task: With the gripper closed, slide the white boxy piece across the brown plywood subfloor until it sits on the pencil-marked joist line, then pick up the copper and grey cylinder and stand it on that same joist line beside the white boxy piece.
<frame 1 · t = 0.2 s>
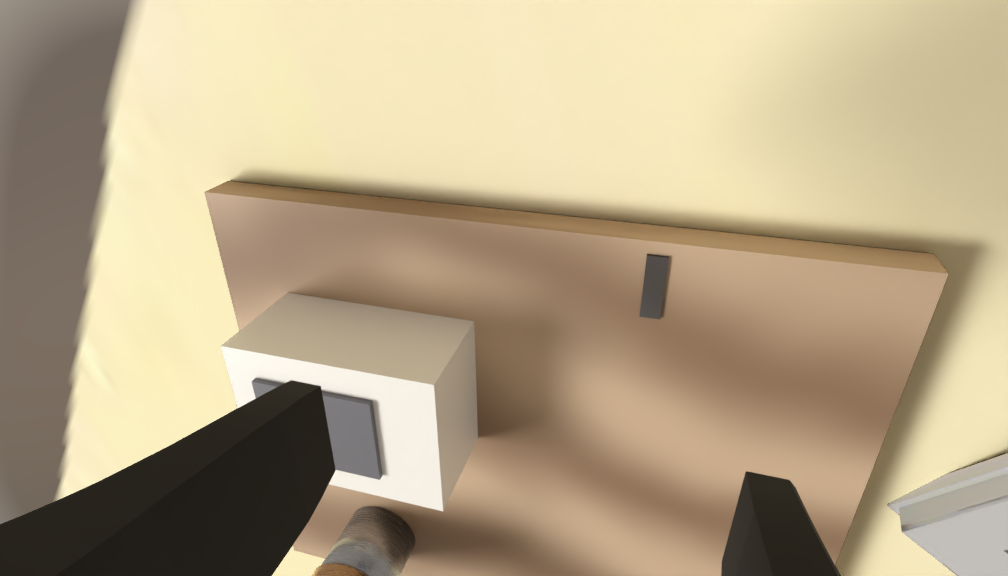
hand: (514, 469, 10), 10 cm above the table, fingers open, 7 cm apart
copper and grey cylinder: (383, 531, 26), point 1 cm above the table, touching subfloor
white boxy piece: (384, 366, 22), point 1 cm above the table, touching subfloor
subfloor: (525, 434, 23), on the table
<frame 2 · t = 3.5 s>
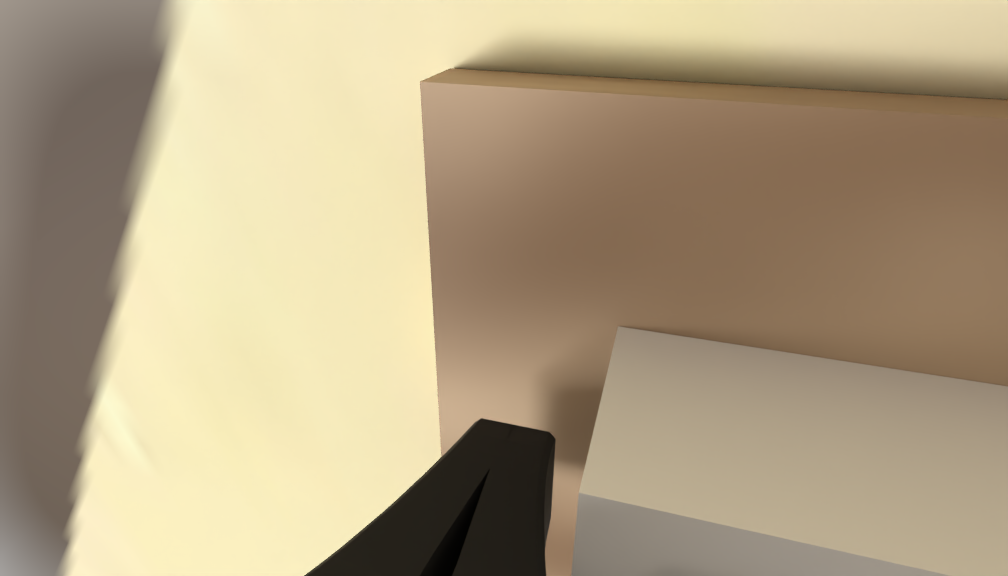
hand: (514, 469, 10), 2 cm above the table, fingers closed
white boxy piece: (820, 490, 10), point 1 cm above the table, touching gripper
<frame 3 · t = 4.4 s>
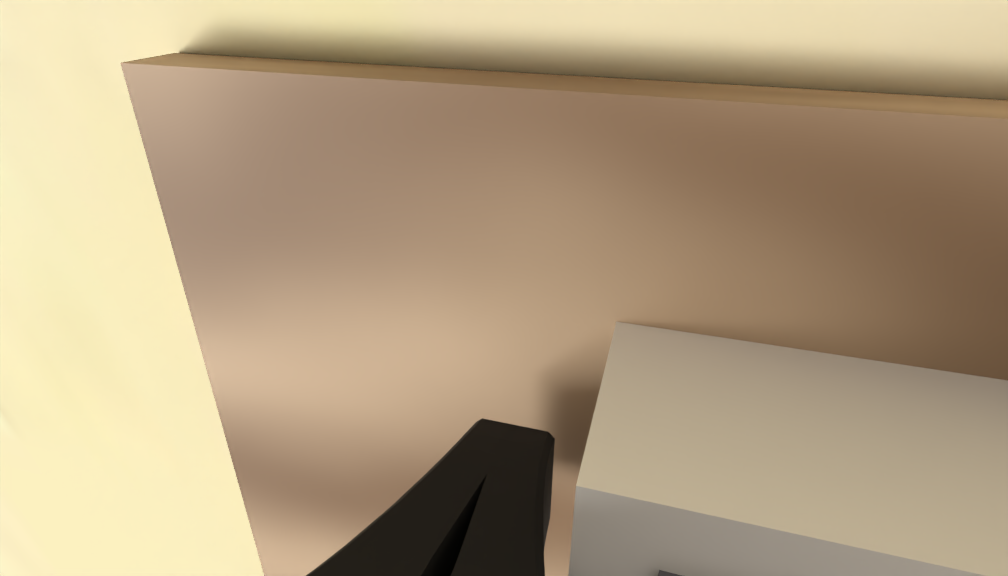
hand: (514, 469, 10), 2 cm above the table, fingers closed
white boxy piece: (819, 485, 10), point 1 cm above the table, touching gripper
subfloor: (727, 541, 13), on the table
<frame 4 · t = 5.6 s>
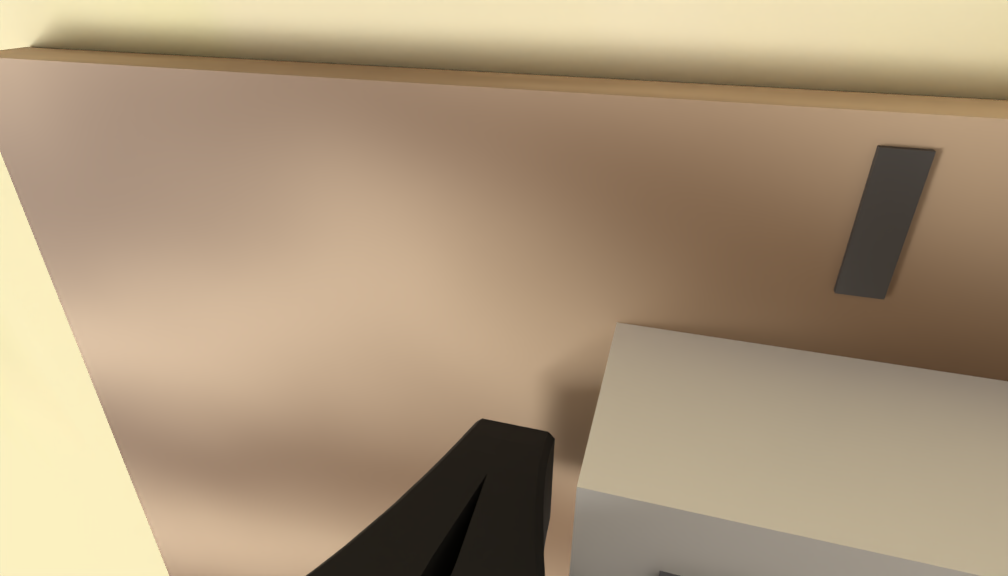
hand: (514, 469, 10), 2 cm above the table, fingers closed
white boxy piece: (819, 486, 10), point 1 cm above the table, touching gripper, subfloor
subfloor: (561, 503, 13), on the table
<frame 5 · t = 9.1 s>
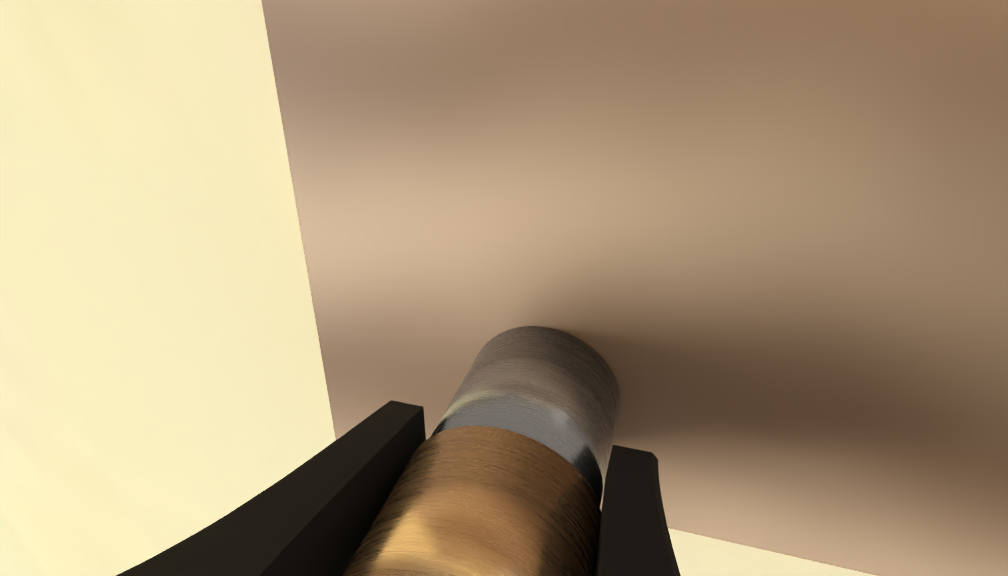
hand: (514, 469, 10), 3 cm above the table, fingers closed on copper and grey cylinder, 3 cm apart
copper and grey cylinder: (543, 391, 12), point 1 cm above the table, touching gripper, subfloor
subfloor: (983, 84, 9), on the table
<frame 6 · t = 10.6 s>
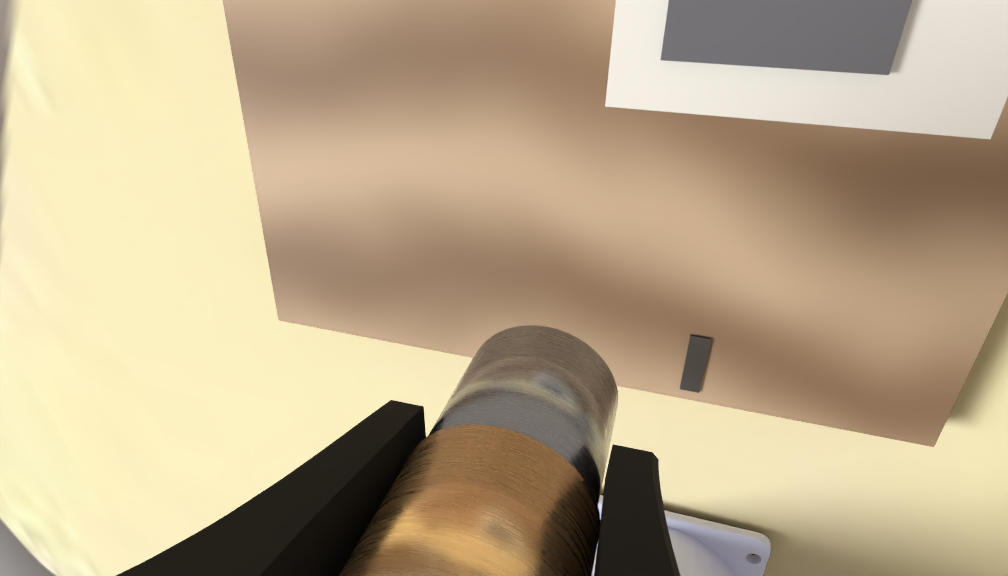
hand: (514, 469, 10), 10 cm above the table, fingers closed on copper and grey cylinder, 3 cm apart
copper and grey cylinder: (541, 390, 12), point 8 cm above the table, touching gripper
subfloor: (596, 91, 17), on the table
when the fingers open (4 cm above the table, at t = 12.3 s): copper and grey cylinder stays where it is, resting on subfloor.
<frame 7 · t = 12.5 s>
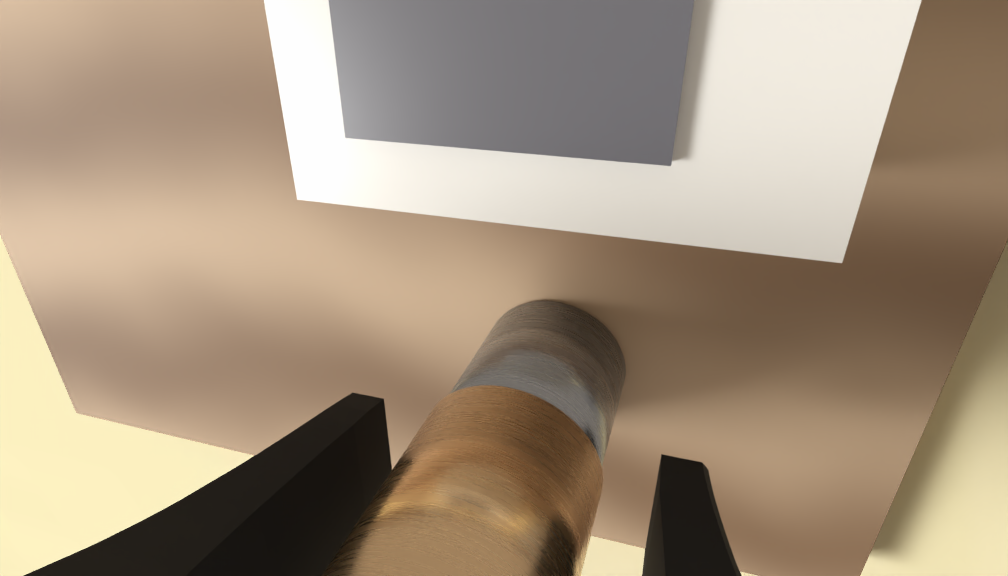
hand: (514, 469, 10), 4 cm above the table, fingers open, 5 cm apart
copper and grey cylinder: (554, 362, 13), point 1 cm above the table, touching subfloor
subfloor: (391, 146, 13), on the table
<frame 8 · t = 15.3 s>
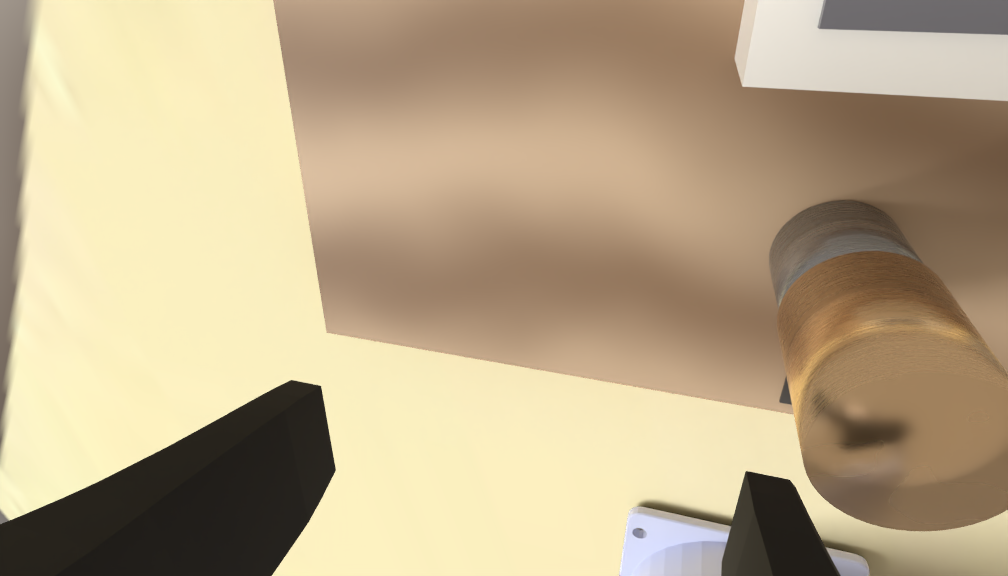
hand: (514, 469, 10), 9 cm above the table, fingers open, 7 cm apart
copper and grey cylinder: (834, 257, 15), point 1 cm above the table, touching subfloor
subfloor: (692, 74, 15), on the table
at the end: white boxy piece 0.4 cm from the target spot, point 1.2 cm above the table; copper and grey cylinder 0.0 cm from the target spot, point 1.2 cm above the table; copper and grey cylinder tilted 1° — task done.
